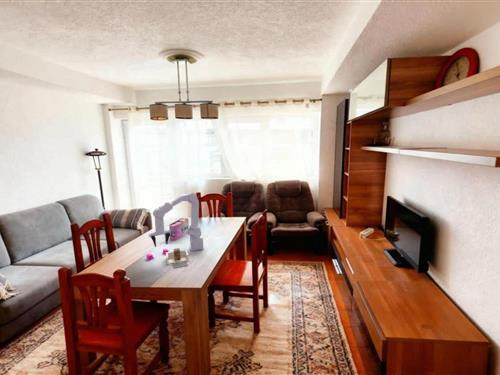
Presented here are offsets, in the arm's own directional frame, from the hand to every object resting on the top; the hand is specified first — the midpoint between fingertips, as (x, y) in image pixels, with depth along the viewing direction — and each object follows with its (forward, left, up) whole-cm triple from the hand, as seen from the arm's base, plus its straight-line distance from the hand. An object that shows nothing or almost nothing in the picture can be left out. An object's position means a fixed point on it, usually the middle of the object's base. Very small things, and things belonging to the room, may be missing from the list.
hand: (161, 245), depth 186 cm
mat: (-11, +15, -10) cm, 21 cm away
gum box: (-17, -47, -11) cm, 51 cm away
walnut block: (-10, +5, -10) cm, 15 cm away
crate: (-10, +5, -10) cm, 15 cm away
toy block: (+2, -6, -15) cm, 17 cm away
